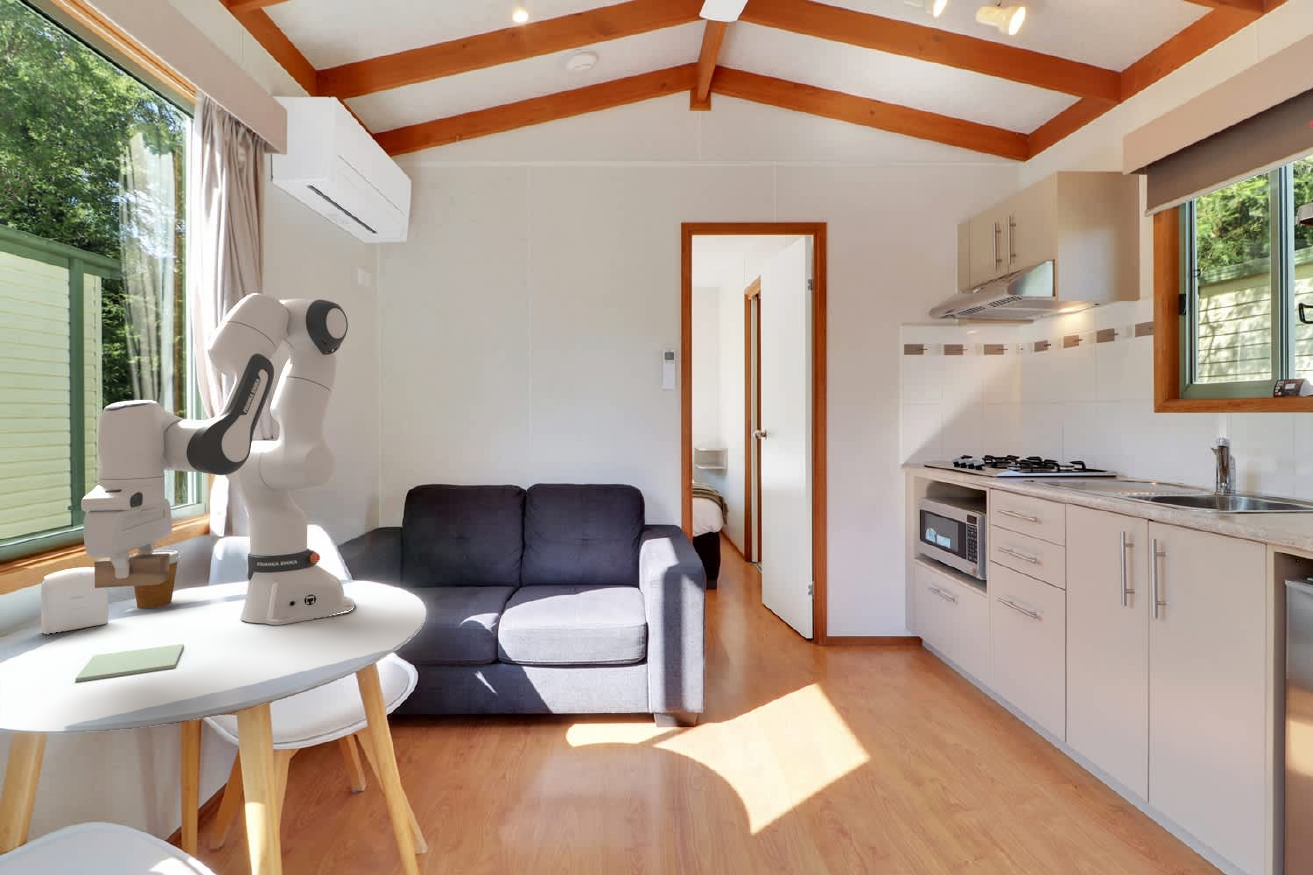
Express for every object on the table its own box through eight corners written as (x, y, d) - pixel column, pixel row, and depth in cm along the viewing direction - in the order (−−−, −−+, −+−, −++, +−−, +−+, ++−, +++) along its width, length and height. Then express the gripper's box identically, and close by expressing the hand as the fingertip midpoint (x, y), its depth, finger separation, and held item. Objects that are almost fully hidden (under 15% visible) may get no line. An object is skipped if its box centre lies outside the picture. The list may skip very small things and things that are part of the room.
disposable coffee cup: (155, 598, 153) (155, 549, 153) (190, 600, 152) (190, 550, 152) (116, 609, 144) (117, 556, 144) (153, 611, 143) (153, 558, 143)
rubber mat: (183, 646, 120) (183, 643, 120) (174, 667, 110) (174, 664, 110) (93, 658, 114) (93, 655, 114) (75, 681, 103) (75, 678, 103)
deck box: (108, 581, 111) (108, 555, 110) (169, 578, 113) (169, 553, 113) (94, 588, 106) (94, 561, 106) (158, 584, 109) (158, 558, 109)
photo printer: (42, 636, 125) (42, 574, 125) (39, 631, 128) (39, 570, 128) (110, 624, 133) (110, 566, 133) (106, 620, 136) (106, 563, 136)
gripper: (143, 487, 119) (143, 560, 119) (73, 501, 99) (74, 589, 99) (182, 486, 120) (182, 559, 121) (121, 500, 100) (122, 587, 101)
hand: (133, 573), depth 110 cm, fingers closed on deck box, 5 cm apart
